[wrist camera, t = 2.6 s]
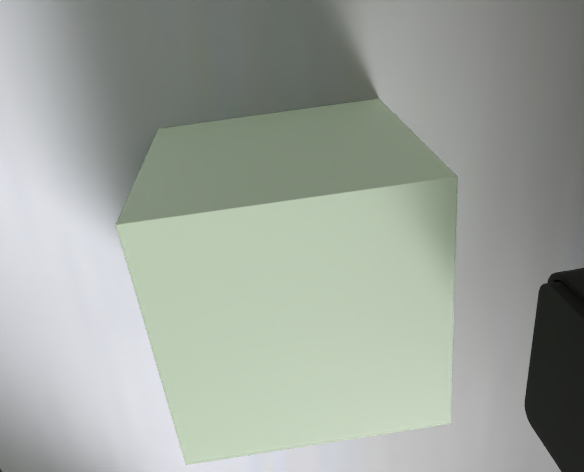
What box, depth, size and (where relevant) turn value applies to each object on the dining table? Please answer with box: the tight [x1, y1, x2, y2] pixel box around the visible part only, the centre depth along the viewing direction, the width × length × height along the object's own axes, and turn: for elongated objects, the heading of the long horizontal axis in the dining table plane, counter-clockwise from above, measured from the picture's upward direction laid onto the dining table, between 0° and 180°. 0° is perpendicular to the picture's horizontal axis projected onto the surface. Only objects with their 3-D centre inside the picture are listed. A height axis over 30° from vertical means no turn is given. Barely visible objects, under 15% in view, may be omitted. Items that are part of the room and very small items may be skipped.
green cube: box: [116, 99, 458, 465], centre depth 14 cm, size 6×6×6 cm
